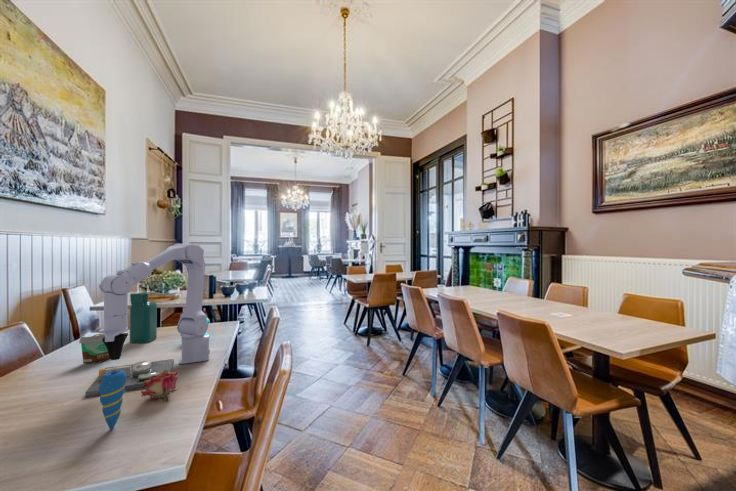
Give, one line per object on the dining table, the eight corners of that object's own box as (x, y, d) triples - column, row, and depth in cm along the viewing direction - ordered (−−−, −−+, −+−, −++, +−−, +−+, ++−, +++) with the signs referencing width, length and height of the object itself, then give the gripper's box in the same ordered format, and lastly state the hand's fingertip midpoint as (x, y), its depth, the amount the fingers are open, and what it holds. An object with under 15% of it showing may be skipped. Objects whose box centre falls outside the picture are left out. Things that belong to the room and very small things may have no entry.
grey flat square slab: (173, 363, 118) (173, 354, 118) (167, 384, 100) (168, 374, 100) (105, 372, 109) (105, 363, 109) (85, 397, 91) (85, 386, 91)
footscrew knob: (152, 368, 108) (152, 359, 108) (150, 374, 104) (150, 364, 104) (101, 375, 102) (101, 366, 102) (96, 381, 98) (97, 372, 98)
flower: (191, 390, 93) (183, 364, 95) (162, 397, 84) (154, 368, 87) (166, 405, 94) (160, 380, 97) (136, 414, 86) (129, 386, 88)
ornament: (108, 423, 78) (109, 361, 78) (131, 422, 79) (131, 361, 79) (92, 436, 73) (93, 370, 73) (116, 435, 73) (117, 369, 73)
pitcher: (138, 338, 149) (139, 290, 149) (158, 337, 150) (158, 290, 150) (125, 344, 139) (125, 293, 139) (146, 344, 140) (146, 293, 140)
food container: (92, 366, 114) (92, 338, 114) (78, 365, 116) (79, 337, 116) (125, 355, 126) (125, 329, 126) (112, 353, 128) (112, 328, 128)
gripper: (105, 311, 102) (105, 353, 102) (91, 320, 89) (90, 369, 89) (133, 309, 106) (132, 350, 106) (122, 318, 93) (122, 365, 93)
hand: (115, 359), depth 98 cm, fingers closed
